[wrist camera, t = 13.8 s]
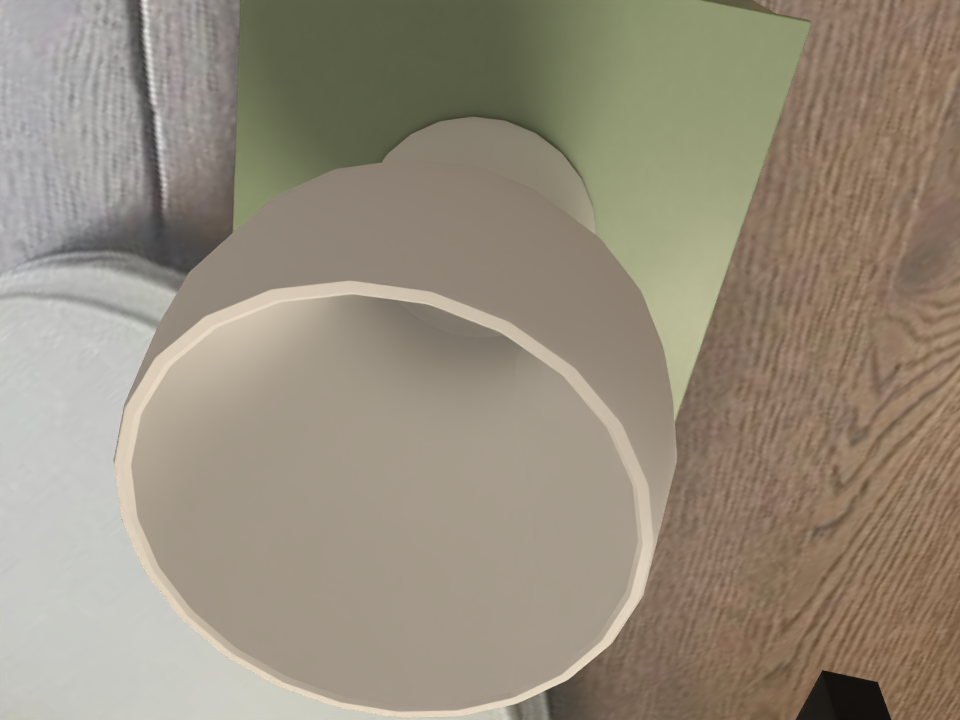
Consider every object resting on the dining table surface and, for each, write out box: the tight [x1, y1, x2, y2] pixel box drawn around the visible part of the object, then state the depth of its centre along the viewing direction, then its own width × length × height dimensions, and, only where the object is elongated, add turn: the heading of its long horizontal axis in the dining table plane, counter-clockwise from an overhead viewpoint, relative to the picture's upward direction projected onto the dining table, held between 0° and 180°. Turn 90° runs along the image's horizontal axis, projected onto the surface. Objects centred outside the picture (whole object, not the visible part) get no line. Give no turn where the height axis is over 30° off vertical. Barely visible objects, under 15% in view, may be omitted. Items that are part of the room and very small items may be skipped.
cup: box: [114, 117, 677, 717], centre depth 21 cm, size 11×11×15 cm
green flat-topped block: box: [233, 0, 812, 421], centre depth 31 cm, size 16×16×8 cm
